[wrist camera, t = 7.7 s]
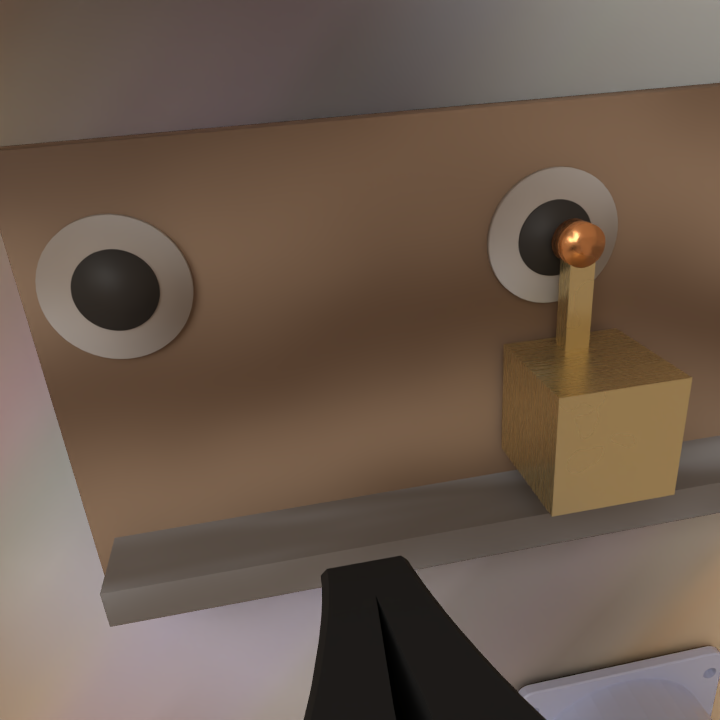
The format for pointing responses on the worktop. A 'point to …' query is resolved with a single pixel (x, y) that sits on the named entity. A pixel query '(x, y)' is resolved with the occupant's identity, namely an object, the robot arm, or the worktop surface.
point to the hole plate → (349, 327)
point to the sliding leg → (590, 400)
